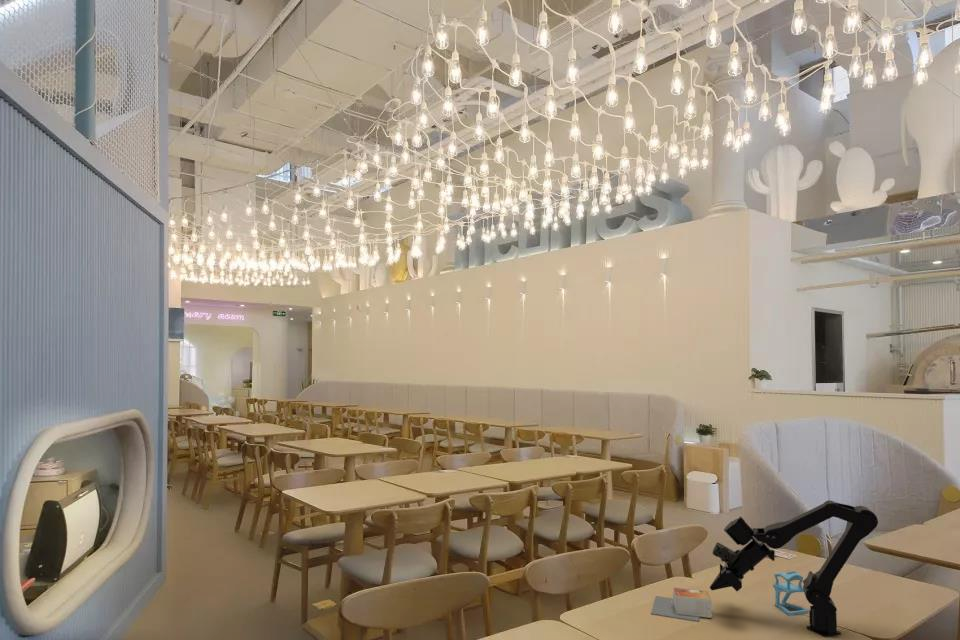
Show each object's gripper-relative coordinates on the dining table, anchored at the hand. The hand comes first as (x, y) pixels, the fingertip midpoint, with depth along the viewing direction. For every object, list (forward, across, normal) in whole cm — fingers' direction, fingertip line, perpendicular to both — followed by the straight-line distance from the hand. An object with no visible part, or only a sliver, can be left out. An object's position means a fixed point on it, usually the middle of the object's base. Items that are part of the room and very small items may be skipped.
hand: (710, 588), depth 193 cm
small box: (+3, 0, +3) cm, 5 cm away
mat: (+12, 0, -2) cm, 13 cm away
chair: (-11, -15, +22) cm, 28 cm away
